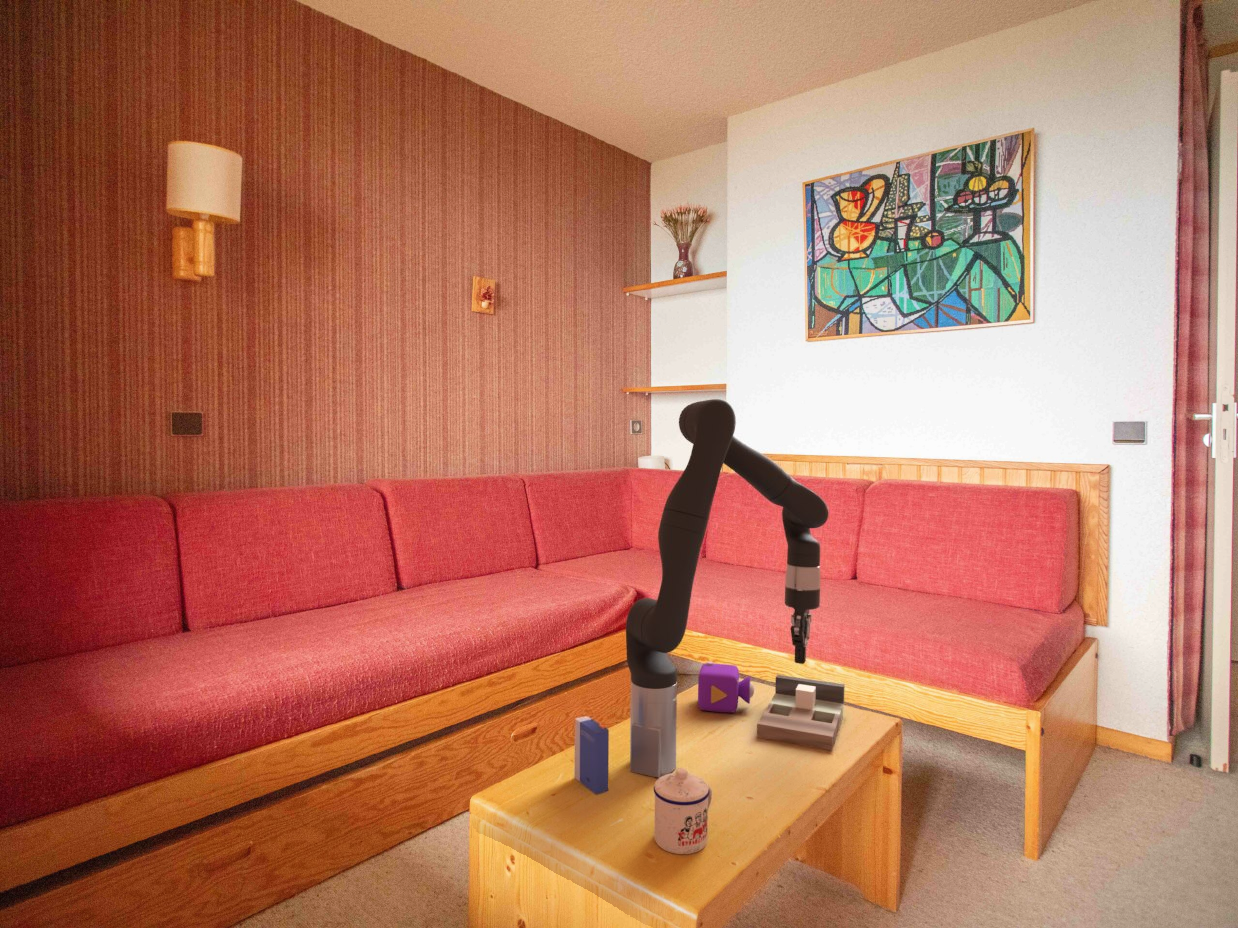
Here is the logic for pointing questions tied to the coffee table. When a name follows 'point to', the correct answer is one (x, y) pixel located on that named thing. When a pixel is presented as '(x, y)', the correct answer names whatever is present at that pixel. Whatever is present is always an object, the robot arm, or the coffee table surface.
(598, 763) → the walkman
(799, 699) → the block
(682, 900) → the coffee table surface
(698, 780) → the teacup with lid
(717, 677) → the toy camera
